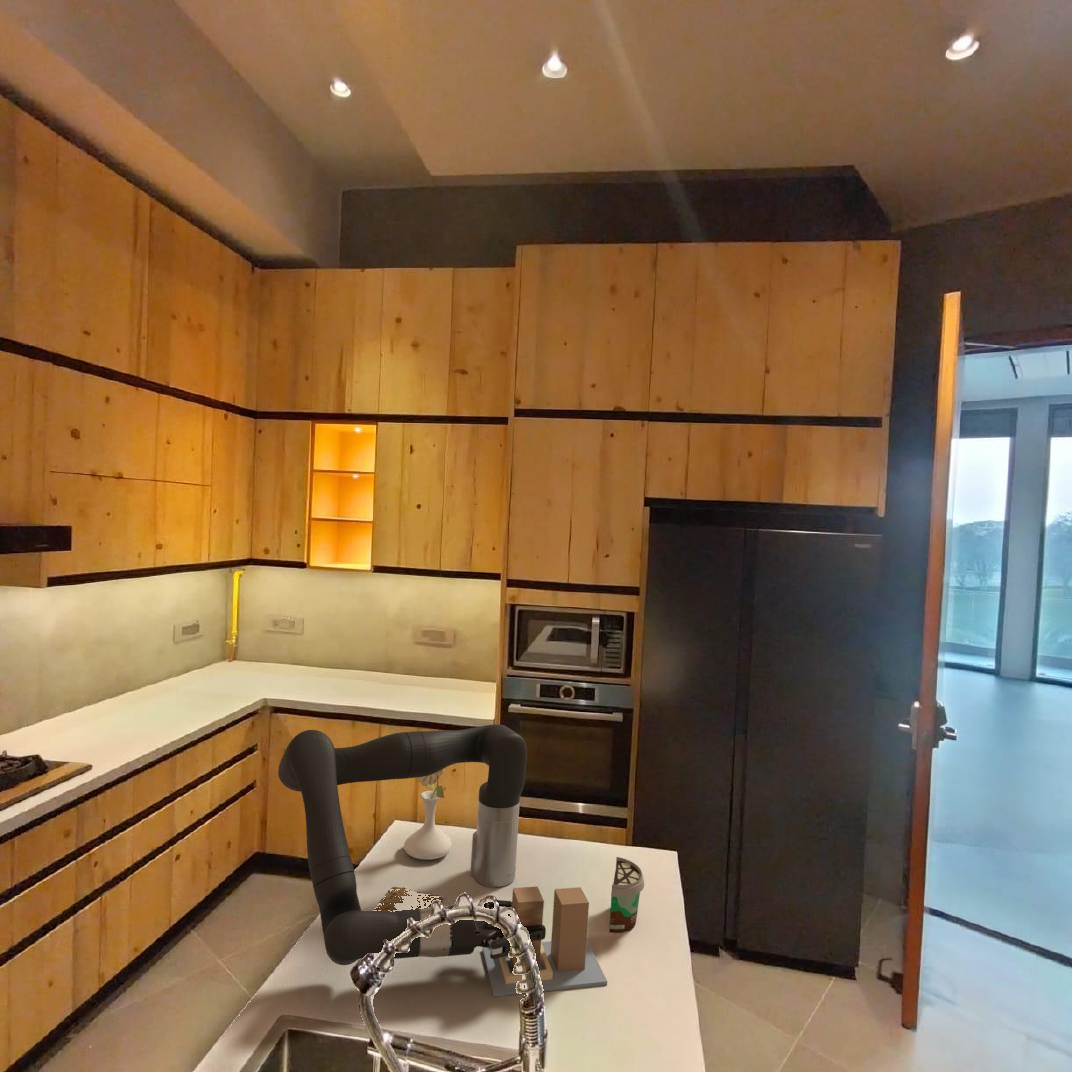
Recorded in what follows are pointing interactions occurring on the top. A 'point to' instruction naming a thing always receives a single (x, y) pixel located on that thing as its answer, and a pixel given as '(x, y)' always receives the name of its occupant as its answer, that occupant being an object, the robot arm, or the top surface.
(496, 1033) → the top surface
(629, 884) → the food container
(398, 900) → the cookie
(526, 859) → the top surface
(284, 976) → the top surface
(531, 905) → the walnut pillar
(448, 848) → the flower in vase
